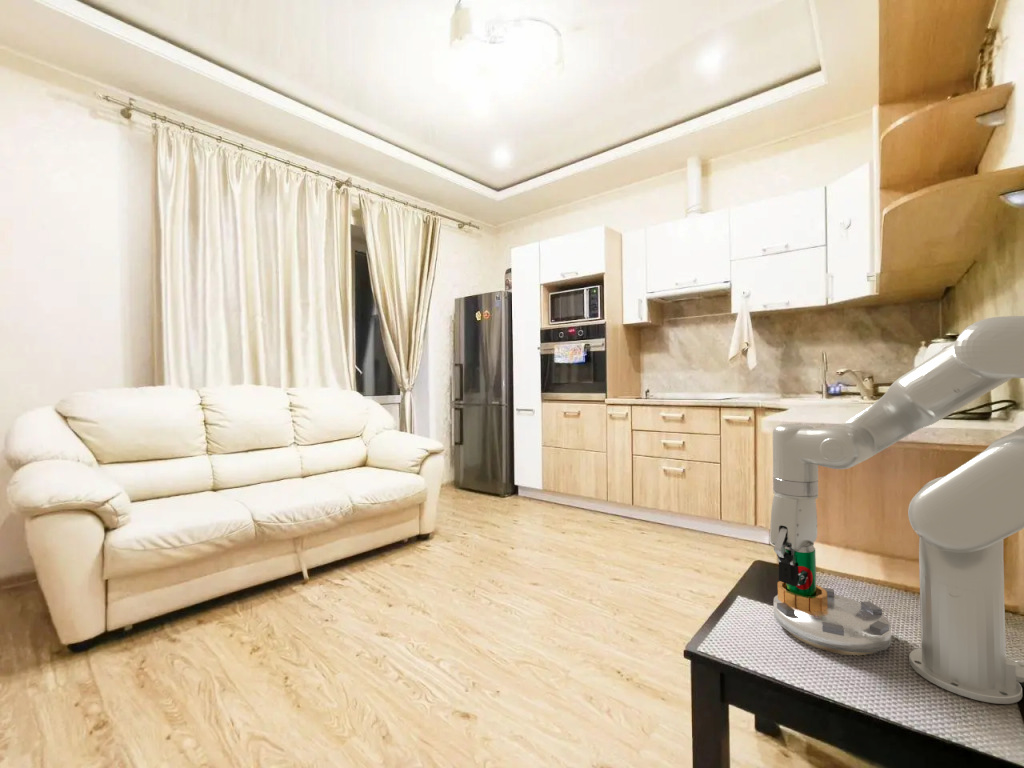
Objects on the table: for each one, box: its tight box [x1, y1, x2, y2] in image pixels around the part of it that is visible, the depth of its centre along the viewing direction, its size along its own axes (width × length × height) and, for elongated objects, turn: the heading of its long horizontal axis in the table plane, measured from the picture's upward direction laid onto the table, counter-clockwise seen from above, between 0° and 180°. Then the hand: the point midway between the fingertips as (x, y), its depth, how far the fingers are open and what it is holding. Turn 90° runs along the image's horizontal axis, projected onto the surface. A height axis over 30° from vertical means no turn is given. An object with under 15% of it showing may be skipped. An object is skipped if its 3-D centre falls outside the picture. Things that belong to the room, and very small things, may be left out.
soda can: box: [785, 541, 817, 596], centre depth 88 cm, size 5×5×12 cm
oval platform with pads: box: [773, 580, 892, 653], centre depth 85 cm, size 18×18×5 cm
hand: (795, 578), depth 89 cm, fingers open, 5 cm apart
